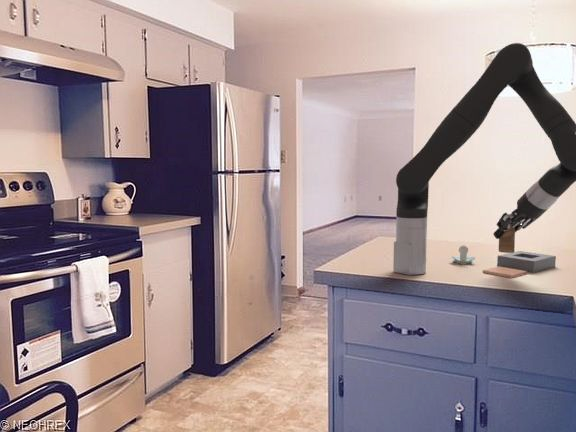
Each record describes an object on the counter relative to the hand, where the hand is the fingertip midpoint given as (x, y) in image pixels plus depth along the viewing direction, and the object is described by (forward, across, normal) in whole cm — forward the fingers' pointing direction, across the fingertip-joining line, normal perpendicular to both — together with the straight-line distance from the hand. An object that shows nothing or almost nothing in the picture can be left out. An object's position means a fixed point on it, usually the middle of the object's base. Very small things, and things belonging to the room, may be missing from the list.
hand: (501, 235), depth 150 cm
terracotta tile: (+7, 0, +9) cm, 11 cm away
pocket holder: (+9, -14, +7) cm, 18 cm away
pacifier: (+20, -1, -3) cm, 20 cm away
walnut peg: (+2, 0, +5) cm, 5 cm away
